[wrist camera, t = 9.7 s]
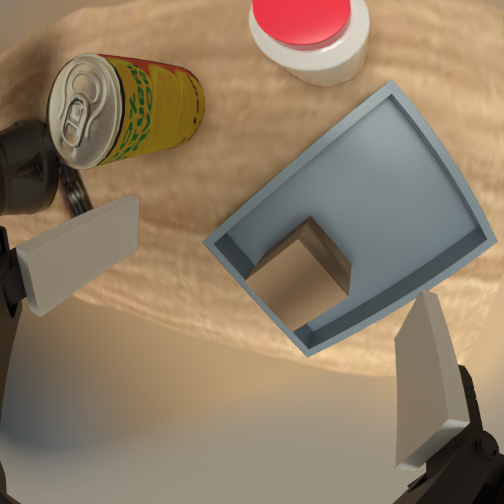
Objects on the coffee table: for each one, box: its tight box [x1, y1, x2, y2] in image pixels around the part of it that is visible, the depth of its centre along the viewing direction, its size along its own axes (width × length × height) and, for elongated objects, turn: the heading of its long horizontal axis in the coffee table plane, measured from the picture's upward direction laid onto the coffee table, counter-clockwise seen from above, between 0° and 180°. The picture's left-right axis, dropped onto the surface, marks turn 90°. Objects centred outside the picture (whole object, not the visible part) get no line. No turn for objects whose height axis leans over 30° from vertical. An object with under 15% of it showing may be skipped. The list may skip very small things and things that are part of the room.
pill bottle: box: [249, 0, 370, 86], centre depth 17 cm, size 8×8×11 cm
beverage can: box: [46, 53, 205, 170], centre depth 24 cm, size 9×9×12 cm
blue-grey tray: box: [203, 80, 498, 357], centre depth 26 cm, size 16×22×4 cm
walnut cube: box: [244, 216, 352, 332], centre depth 27 cm, size 6×6×6 cm
